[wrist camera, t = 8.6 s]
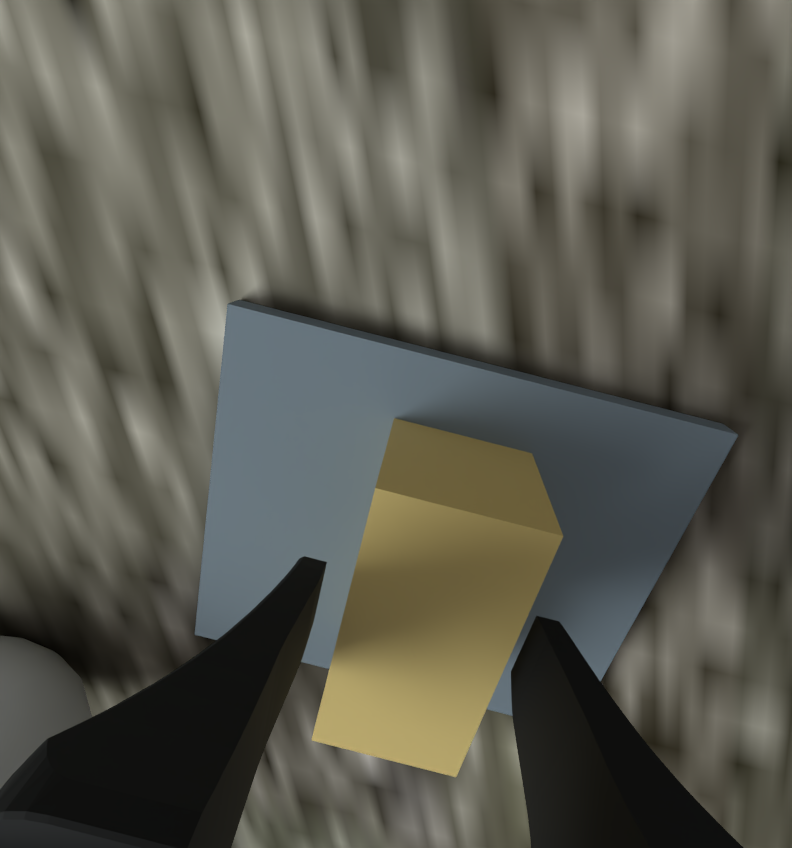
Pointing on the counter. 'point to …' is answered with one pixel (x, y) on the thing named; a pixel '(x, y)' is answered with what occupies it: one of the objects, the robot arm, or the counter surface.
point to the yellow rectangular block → (436, 596)
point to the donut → (34, 700)
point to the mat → (449, 411)
